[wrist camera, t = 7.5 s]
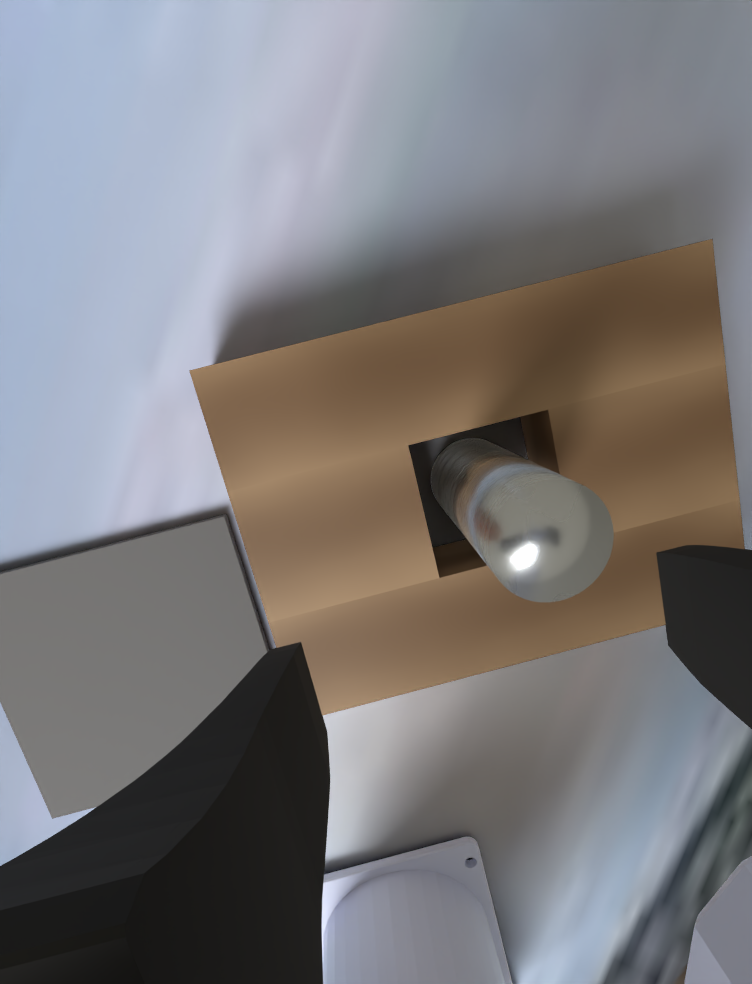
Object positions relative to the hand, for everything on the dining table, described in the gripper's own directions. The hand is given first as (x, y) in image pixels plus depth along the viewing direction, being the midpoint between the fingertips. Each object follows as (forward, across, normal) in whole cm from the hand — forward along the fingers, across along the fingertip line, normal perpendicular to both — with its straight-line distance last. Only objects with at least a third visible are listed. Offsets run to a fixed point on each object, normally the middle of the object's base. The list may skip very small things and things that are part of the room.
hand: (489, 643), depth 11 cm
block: (+10, -2, -1) cm, 11 cm away
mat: (+10, +12, +3) cm, 16 cm away
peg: (+10, -2, -1) cm, 11 cm away
